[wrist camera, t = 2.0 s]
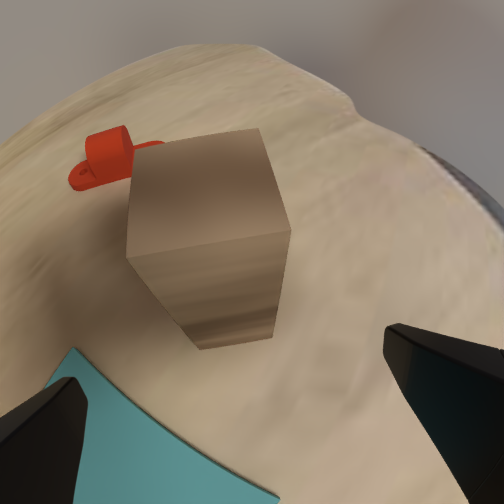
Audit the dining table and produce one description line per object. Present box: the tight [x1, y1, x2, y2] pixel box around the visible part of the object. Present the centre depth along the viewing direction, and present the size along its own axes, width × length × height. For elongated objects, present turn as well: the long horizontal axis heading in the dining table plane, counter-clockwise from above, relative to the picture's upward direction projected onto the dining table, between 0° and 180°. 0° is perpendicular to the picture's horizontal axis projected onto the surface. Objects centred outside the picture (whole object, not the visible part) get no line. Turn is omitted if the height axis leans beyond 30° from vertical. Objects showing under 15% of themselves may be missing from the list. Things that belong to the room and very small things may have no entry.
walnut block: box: [126, 128, 291, 350], centre depth 16 cm, size 5×5×13 cm
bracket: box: [68, 125, 165, 191], centre depth 27 cm, size 12×4×5 cm, turn 103°
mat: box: [43, 347, 280, 504], centre depth 14 cm, size 18×14×1 cm
